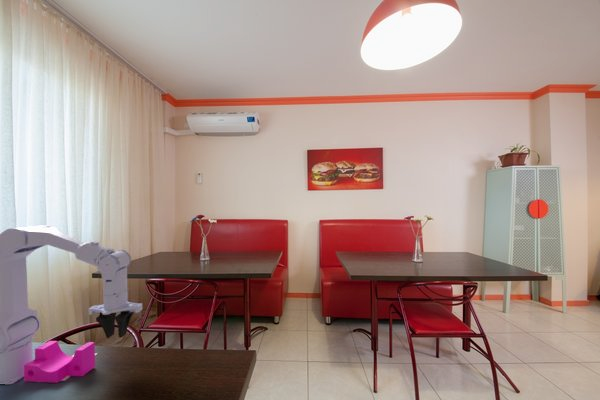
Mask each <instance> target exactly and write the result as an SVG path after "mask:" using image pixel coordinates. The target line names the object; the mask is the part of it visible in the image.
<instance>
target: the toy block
mask: <svg viewBox="0 0 600 400" xmlns="http://www.w3.org/2000/svg"><path fill="white" fill-rule="evenodd" d="M95 343H96V342H95V341H88V342H86V343H85V344H83V345H81V346H80V347H78V348H76V349H75V351H74V354H73V355H74V357H72V356H73V355H68V354H66V353H65V352H64V351H63V350H62V348H61V347H60V344H59V341H58V340H49V341H47V342H45V343H43V344H42V345H39V346H37V347H35V348H34V358H33V360H32V361H31V362H29V363H27V364H25V365H24V377H23V381H24V382H31V383H32V382H33V383H34V382H35V383H36V382H37V383H52V384H53V383H55V384H56V383H58V384H59V382H61V380H62V379H64V378H65V377H66V376H70V377H84V376H86V374H88V373H89V372H90V371H92V370H93V369H94V368H96V356H95V352H96V347H95V346H96V345H95Z"/></svg>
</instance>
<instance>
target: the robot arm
mask: <svg viewBox="0 0 600 400" xmlns="http://www.w3.org/2000/svg"><path fill="white" fill-rule="evenodd" d="M45 246H51V247H54V248H57V249H60V250H62V251H65V252H69V253H72V254H74V255H75V259H76V260H79V261H81V262H84V263H86V264H89V265H91V266H94V267H96V268H97V271H98V272H99V273H100V275H101V279H102V288H103V289H102V290H103V291H102V293H103V295H102V296H103V297H102V298H103V304H97V305H93V306H91V307H89V308H88V315H89V316H91V315H94V314H99V315H98V316H96V317H95V318H96V319H95V321H96V322H97V323H98V324H99V325H100V326H101V328H102V329H103V332H104V334H105V336H106V337H105V338H106V339H110V338H111V337H112V336H114V334H115V327H116V325H117V331H118V338H123V337H124V336H125V335H127V331H128V327H129V324H130V321H131V319H132V317H133V315H134V313H135V314H137V313H140V312H141V311H142V310H143V303H138V302H130V301H128V298H129V297H128V267H129V265H130V264H131V262H132V257H131V255H130V253H129V252H128V251H127V250H124V249H120V250H119V249H118V250H114V248H112V247H106V246H104V245H101V244H100V242H99V241H96V240H95V241H87V242H82V241H80V240H78V239H76V238H74V237H71V236H70V235H68V234H65V233H64V232H61V231H59V230H58V228H57V227H53V226H51V225H49V224H41V225H40V224H39V225H35V226H34V225H33V226H24V227H11V228H6V229H5V230H3V231H2V232H0V384H5V385H13V384H15V383H16V382H17V381H19V380H21V379H22V378H24V365H25V364H27V363H29V362H31V361H32V360H34V343H33V342H34V338H35V337H36V333H37V332H38V331H39V330H40V329H41V320H40V318H39V317H38V311H37V310H36V309H33V308H29V297H28V276H27V275H28V271H27V257H28V256H29V255H31V254H32V253H33V252H35V251H36V250H38V249H41V248H42V247H45ZM118 313H119V314H118ZM115 323H116V325H115Z"/></svg>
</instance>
